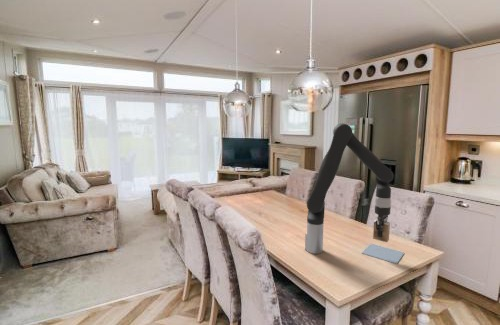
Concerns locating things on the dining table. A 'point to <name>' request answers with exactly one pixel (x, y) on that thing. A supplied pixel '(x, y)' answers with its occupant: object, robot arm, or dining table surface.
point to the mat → (383, 253)
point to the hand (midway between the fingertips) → (381, 235)
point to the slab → (384, 234)
